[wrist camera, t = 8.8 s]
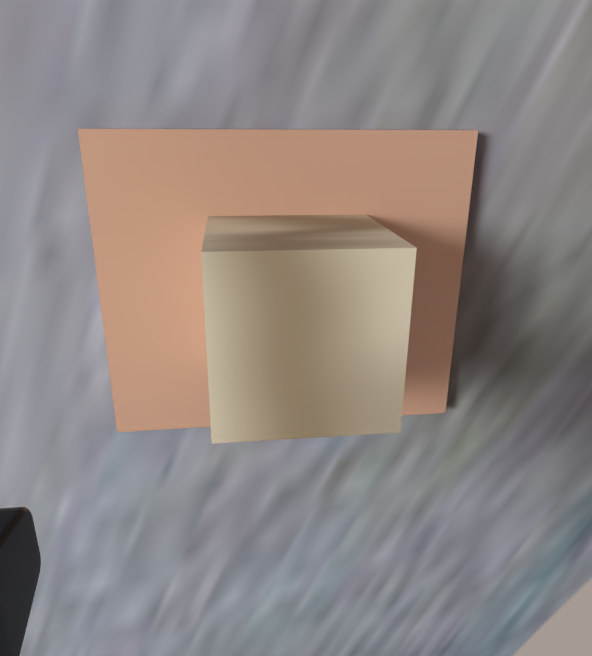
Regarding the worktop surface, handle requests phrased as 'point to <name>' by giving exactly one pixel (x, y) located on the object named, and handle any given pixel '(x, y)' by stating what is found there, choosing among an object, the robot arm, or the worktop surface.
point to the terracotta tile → (259, 200)
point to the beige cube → (305, 326)
